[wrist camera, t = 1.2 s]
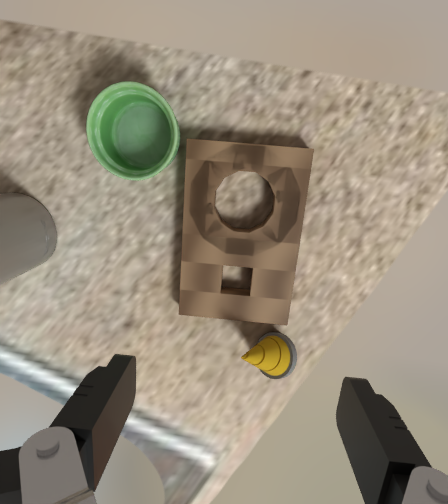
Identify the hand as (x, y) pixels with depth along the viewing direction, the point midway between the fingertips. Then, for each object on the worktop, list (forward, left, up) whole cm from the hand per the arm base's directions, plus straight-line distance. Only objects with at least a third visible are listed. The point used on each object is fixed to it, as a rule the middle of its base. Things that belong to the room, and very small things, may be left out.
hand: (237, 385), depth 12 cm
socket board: (0, 0, -26) cm, 26 cm away
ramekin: (-11, +10, -26) cm, 30 cm away
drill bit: (+5, -14, -26) cm, 30 cm away
